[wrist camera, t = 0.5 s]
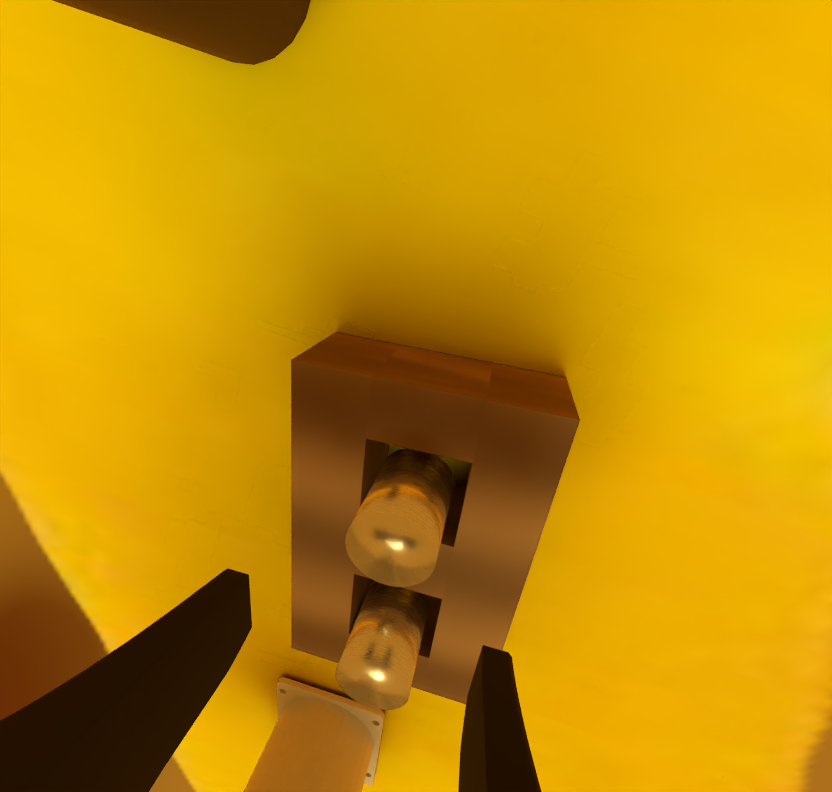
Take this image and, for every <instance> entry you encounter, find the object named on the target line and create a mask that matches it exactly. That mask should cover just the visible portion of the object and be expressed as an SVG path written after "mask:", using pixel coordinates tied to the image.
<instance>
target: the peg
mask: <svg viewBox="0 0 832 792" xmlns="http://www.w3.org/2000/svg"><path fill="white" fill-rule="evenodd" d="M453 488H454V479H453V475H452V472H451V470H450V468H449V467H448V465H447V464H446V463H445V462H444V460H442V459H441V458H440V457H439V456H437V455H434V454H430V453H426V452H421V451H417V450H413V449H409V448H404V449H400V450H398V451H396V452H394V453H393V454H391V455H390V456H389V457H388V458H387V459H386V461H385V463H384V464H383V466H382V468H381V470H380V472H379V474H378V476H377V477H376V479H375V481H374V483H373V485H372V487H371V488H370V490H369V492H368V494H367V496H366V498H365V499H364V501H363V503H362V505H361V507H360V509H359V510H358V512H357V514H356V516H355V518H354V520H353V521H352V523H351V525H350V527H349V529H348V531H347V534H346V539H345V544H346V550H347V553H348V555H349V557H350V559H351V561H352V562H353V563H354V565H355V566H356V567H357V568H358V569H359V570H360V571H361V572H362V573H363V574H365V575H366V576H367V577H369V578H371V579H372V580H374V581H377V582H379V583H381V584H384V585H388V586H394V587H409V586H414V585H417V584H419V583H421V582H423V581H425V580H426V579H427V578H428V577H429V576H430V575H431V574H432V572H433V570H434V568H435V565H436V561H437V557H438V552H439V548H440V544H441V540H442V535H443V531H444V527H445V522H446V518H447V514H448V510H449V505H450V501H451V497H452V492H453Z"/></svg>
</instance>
